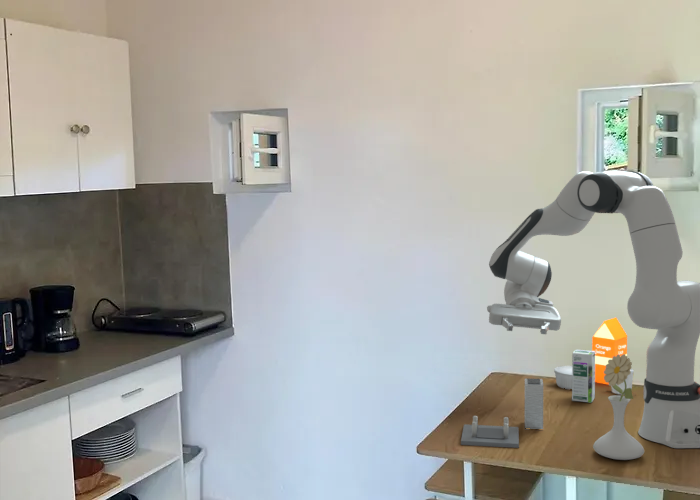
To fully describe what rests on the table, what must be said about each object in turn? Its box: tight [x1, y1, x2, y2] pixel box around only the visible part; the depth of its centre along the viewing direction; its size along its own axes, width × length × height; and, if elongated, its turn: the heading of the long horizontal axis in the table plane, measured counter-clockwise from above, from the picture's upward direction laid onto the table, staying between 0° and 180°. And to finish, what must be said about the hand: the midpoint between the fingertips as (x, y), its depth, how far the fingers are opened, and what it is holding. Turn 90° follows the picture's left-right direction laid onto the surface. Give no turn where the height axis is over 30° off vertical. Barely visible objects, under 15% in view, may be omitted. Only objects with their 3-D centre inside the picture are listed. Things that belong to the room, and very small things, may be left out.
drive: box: [524, 377, 544, 430], centre depth 204 cm, size 5×6×12 cm
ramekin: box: [554, 365, 572, 390], centre depth 242 cm, size 11×11×5 cm
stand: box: [460, 415, 520, 449], centre depth 196 cm, size 14×13×4 cm
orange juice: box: [591, 317, 628, 386], centre depth 247 cm, size 8×9×20 cm
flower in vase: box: [592, 354, 645, 461], centre depth 180 cm, size 13×11×25 cm
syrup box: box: [571, 349, 596, 404], centre depth 227 cm, size 6×6×14 cm
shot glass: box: [610, 368, 635, 396], centre depth 235 cm, size 7×7×7 cm
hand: (527, 330), depth 216 cm, fingers open, 8 cm apart
